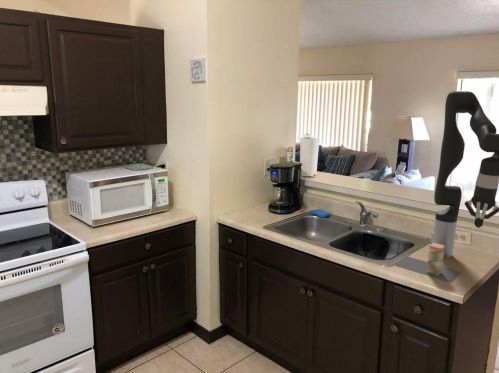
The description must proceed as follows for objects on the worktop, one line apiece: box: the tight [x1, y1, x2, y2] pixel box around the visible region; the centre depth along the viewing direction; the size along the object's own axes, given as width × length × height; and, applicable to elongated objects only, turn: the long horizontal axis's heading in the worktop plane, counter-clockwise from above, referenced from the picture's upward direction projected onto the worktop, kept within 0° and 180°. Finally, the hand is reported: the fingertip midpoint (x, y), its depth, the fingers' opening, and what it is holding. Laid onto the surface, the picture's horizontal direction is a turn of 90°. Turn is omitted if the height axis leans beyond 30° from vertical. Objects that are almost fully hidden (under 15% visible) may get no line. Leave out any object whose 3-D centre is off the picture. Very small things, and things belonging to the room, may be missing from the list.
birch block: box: [427, 243, 445, 276], centre depth 174 cm, size 4×4×12 cm
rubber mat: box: [394, 256, 463, 283], centre depth 179 cm, size 24×14×1 cm, turn 47°
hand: (477, 226), depth 165 cm, fingers closed
